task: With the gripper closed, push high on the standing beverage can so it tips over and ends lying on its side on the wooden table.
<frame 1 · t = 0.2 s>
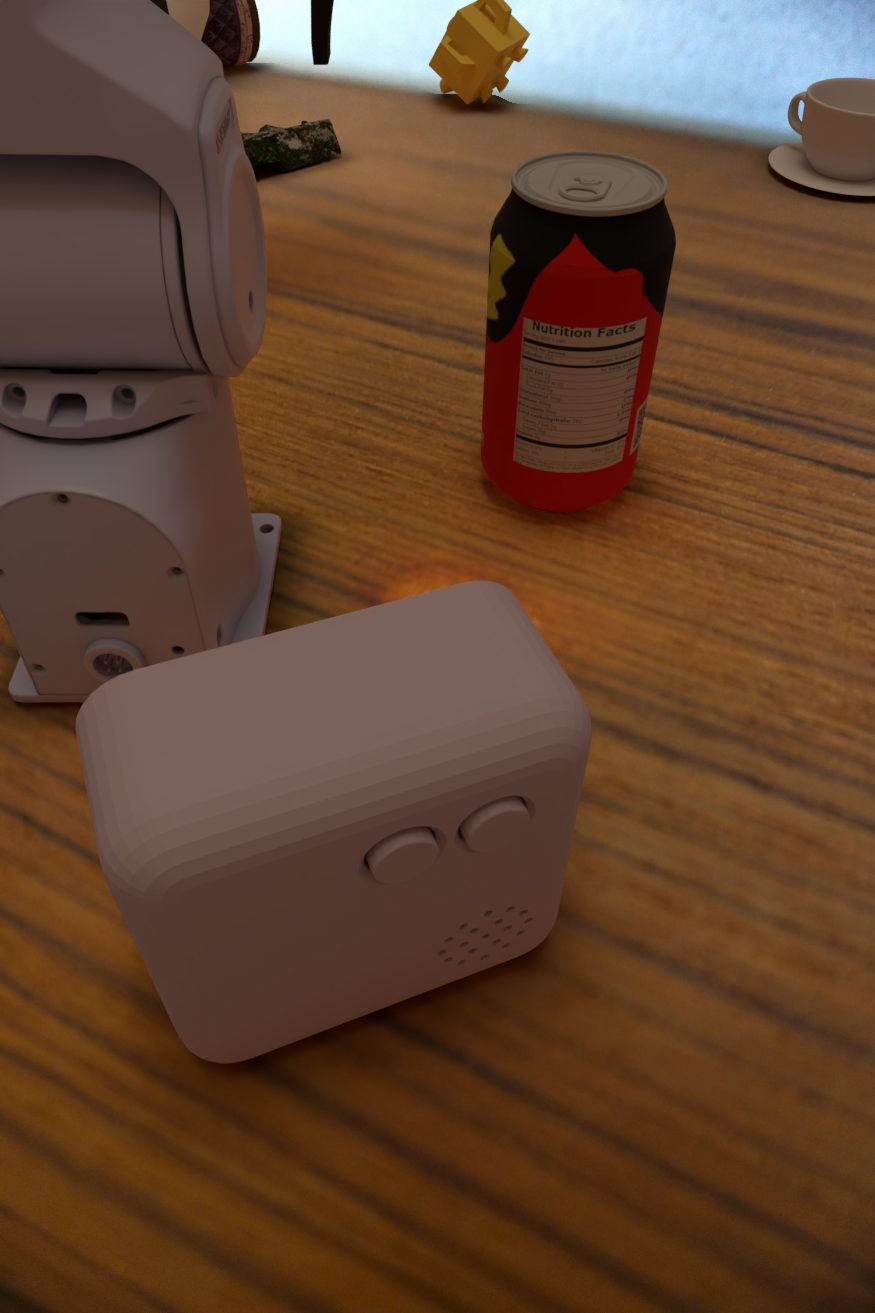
hand: (243, 58, 47), 10 cm above the table, tool pointing down, fingers open, 7 cm apart
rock: (194, 178, 59), point 1 cm above the table
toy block: (504, 82, 72), point 1 cm above the table
teacup: (842, 176, 64), on the table
beverage can: (554, 483, 40), on the table
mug: (96, 37, 74), point 3 cm above the table, touching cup
electronic device: (365, 951, 26), on the table
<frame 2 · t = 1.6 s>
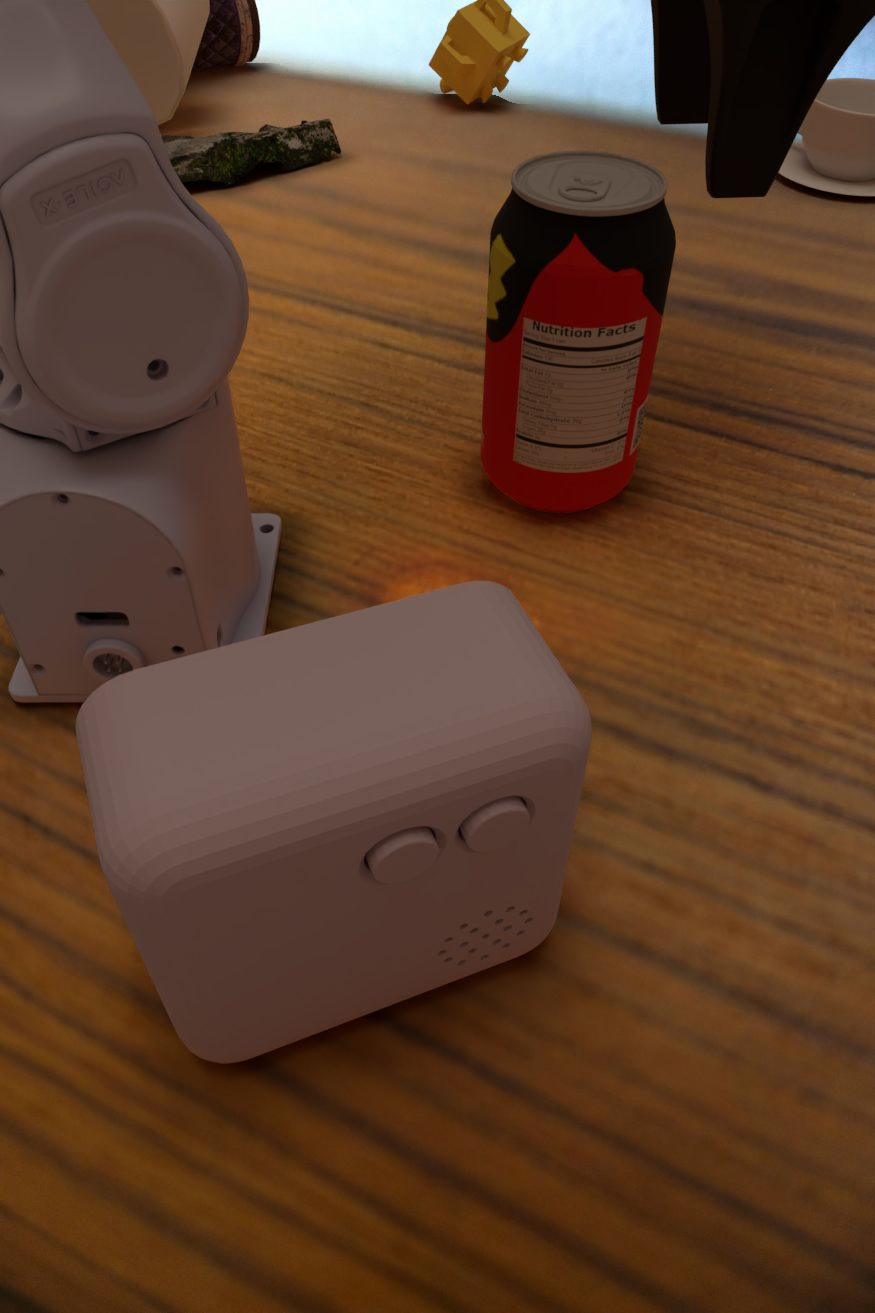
hand: (707, 155, 38), 10 cm above the table, tool pointing down, fingers open, 7 cm apart
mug: (96, 37, 74), point 3 cm above the table
everything else where it was.
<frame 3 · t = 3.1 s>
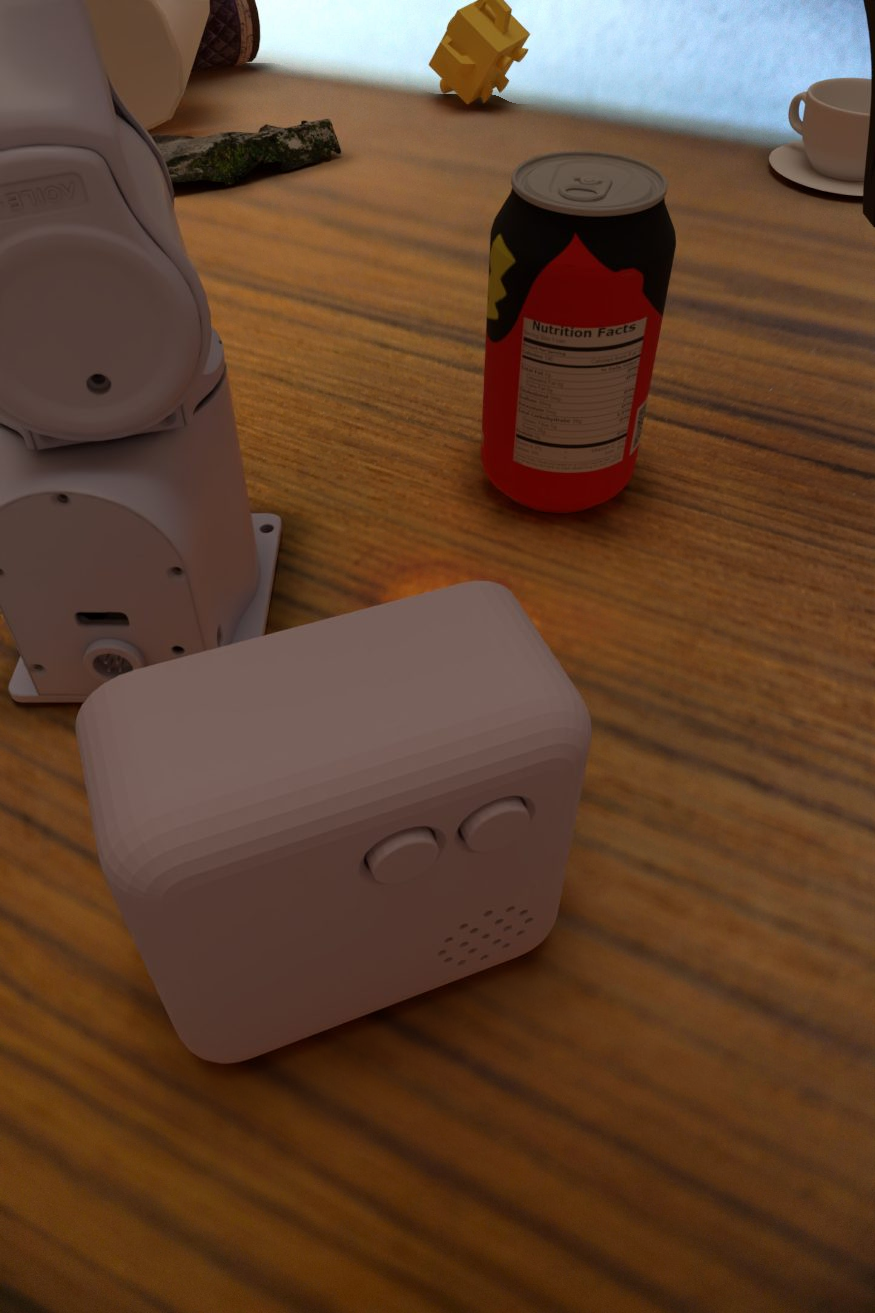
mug: (96, 37, 74), point 3 cm above the table, touching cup
everything else where it was.
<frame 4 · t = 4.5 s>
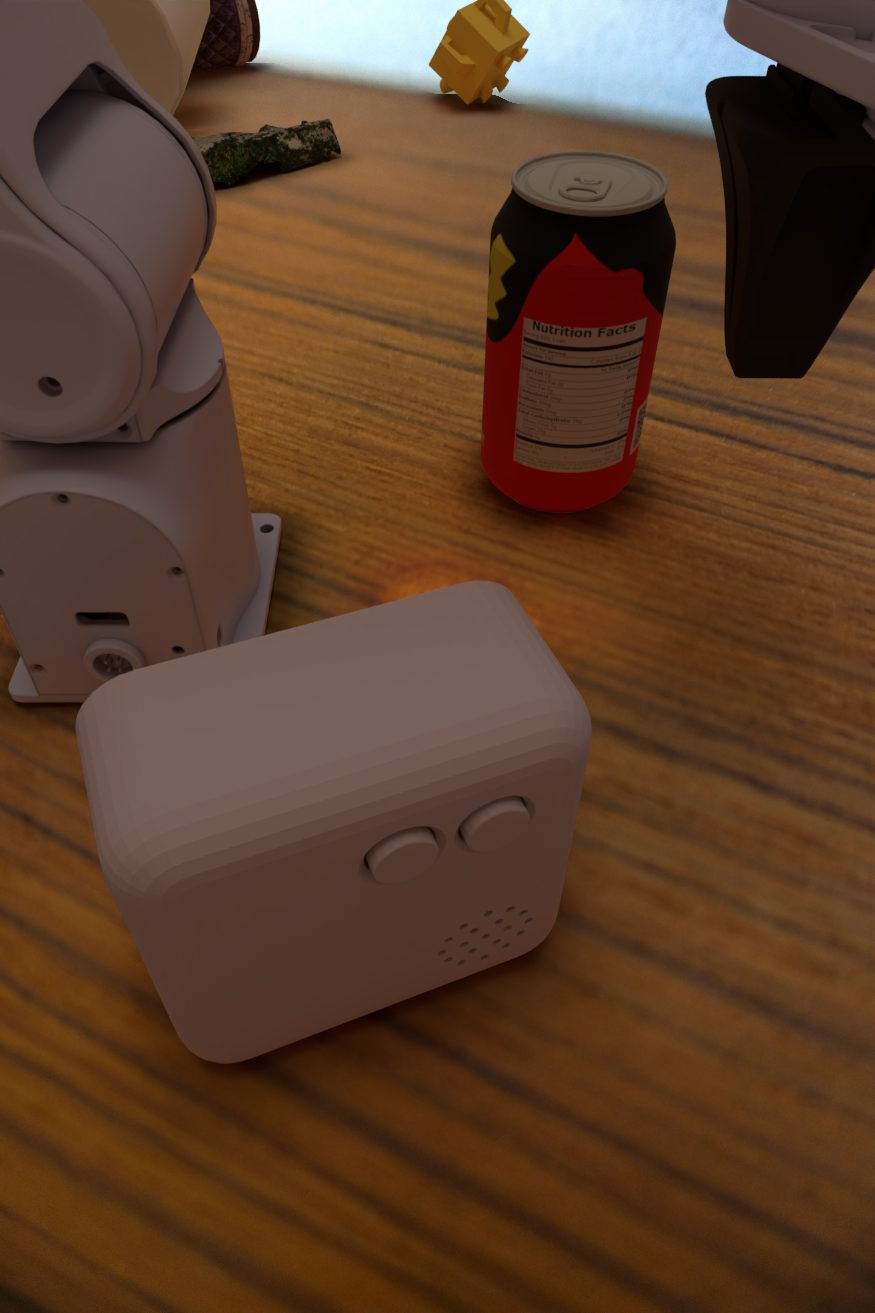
hand: (764, 366, 28), 9 cm above the table, tool pointing down, fingers closed
nothing on the table moved.
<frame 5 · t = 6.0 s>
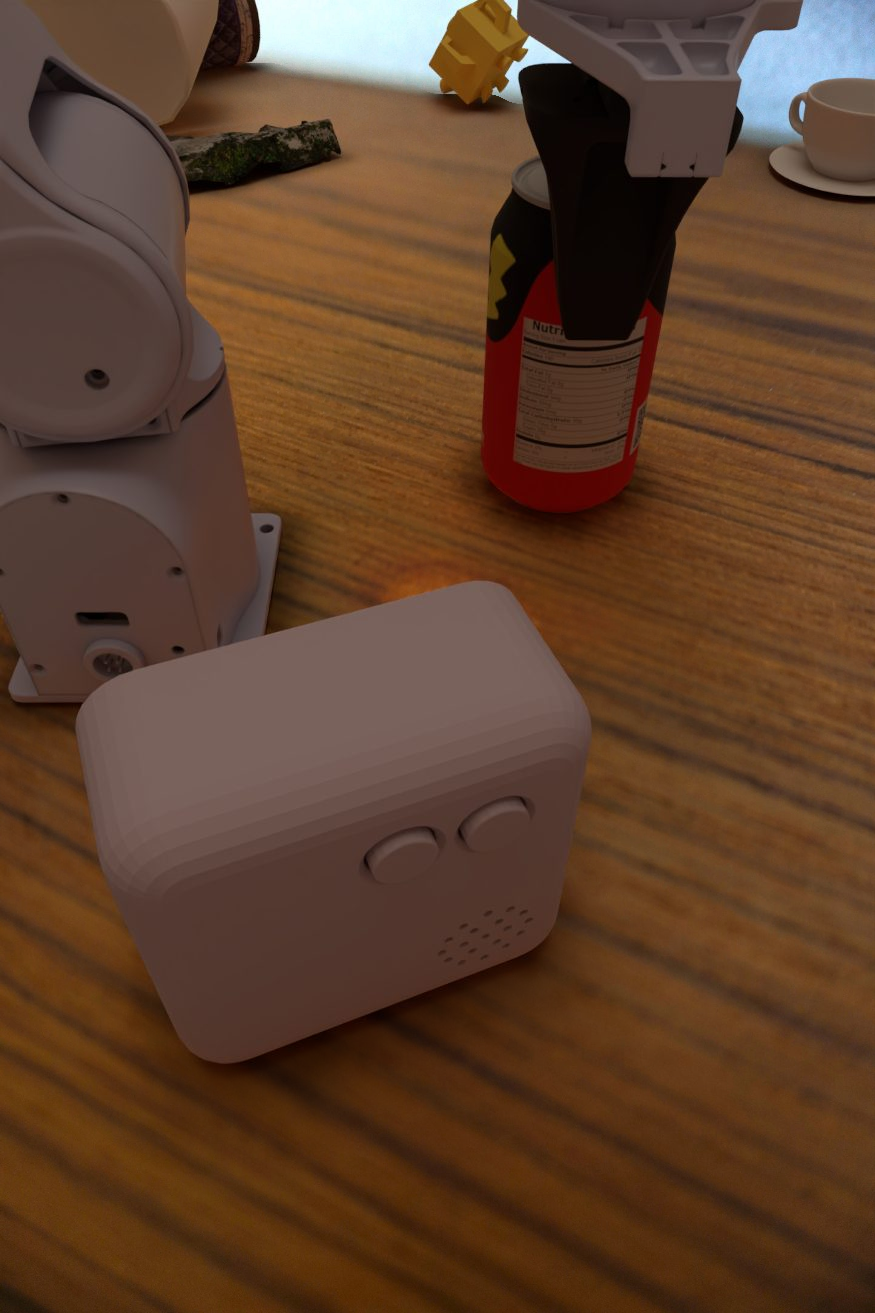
hand: (594, 330, 31), 9 cm above the table, tool pointing down, fingers closed
beverage can: (554, 483, 40), on the table, touching gripper
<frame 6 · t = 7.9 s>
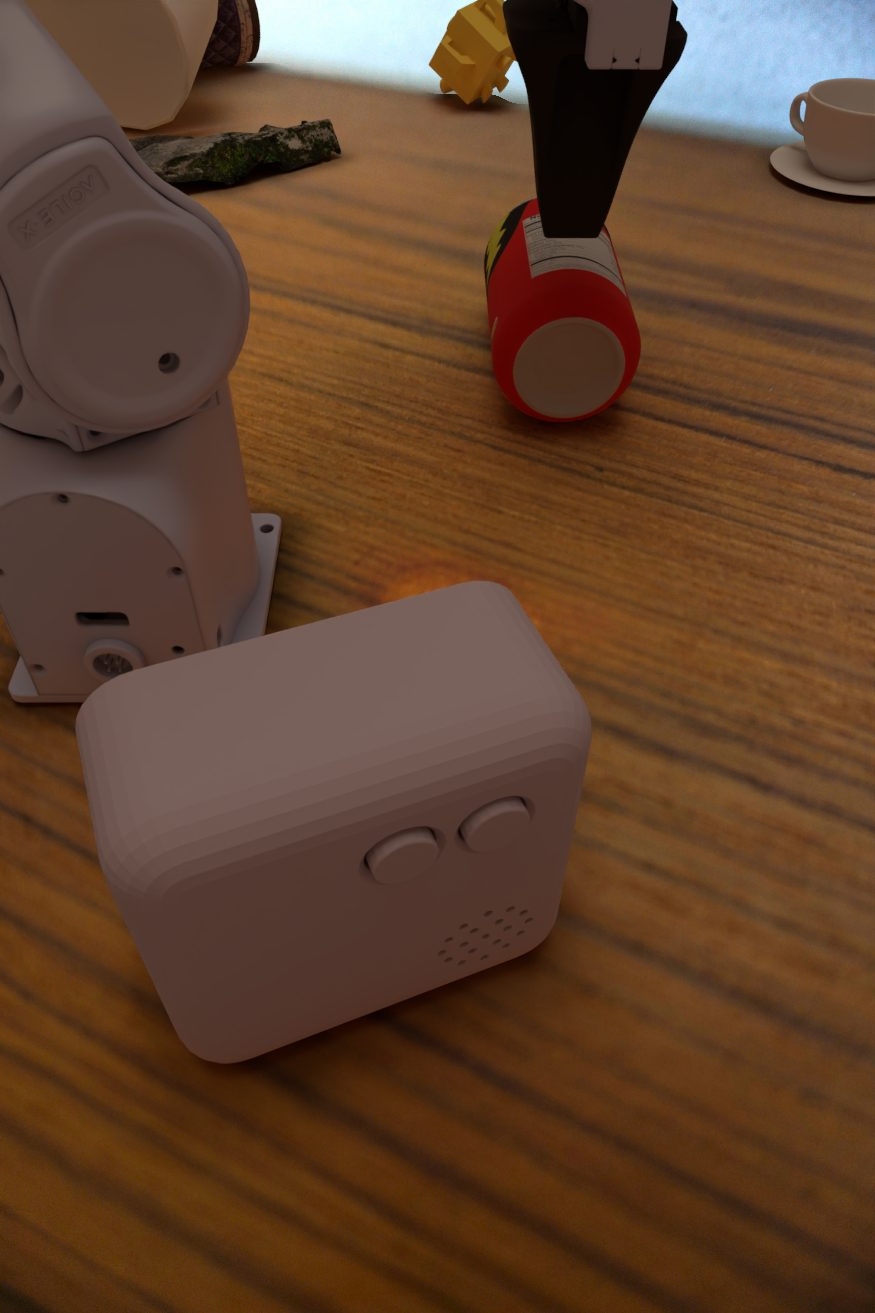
hand: (569, 230, 36), 9 cm above the table, tool pointing down, fingers closed
beverage can: (569, 372, 40), point 3 cm above the table
everything else where it was.
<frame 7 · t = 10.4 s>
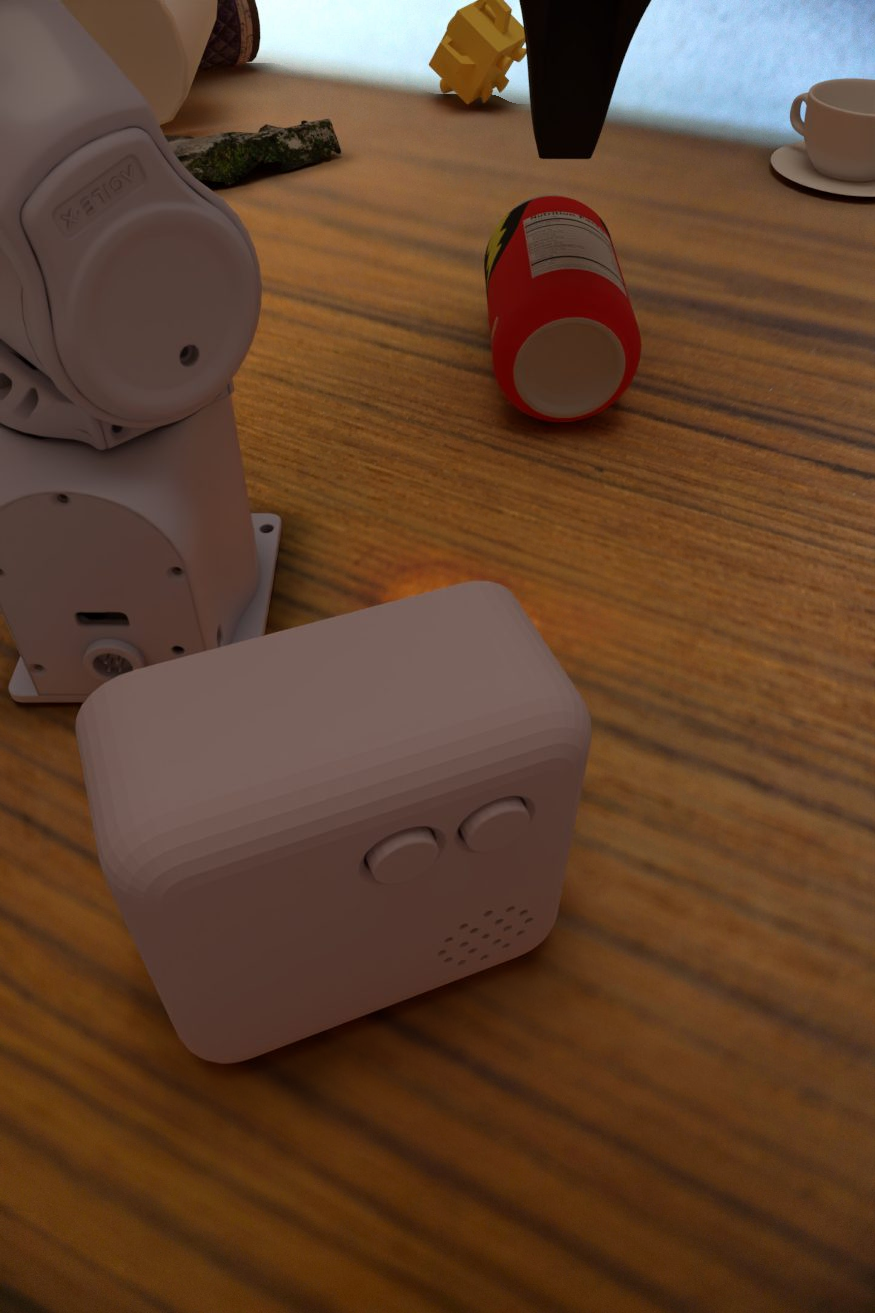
hand: (563, 152, 38), 10 cm above the table, tool pointing down, fingers closed
nothing on the table moved.
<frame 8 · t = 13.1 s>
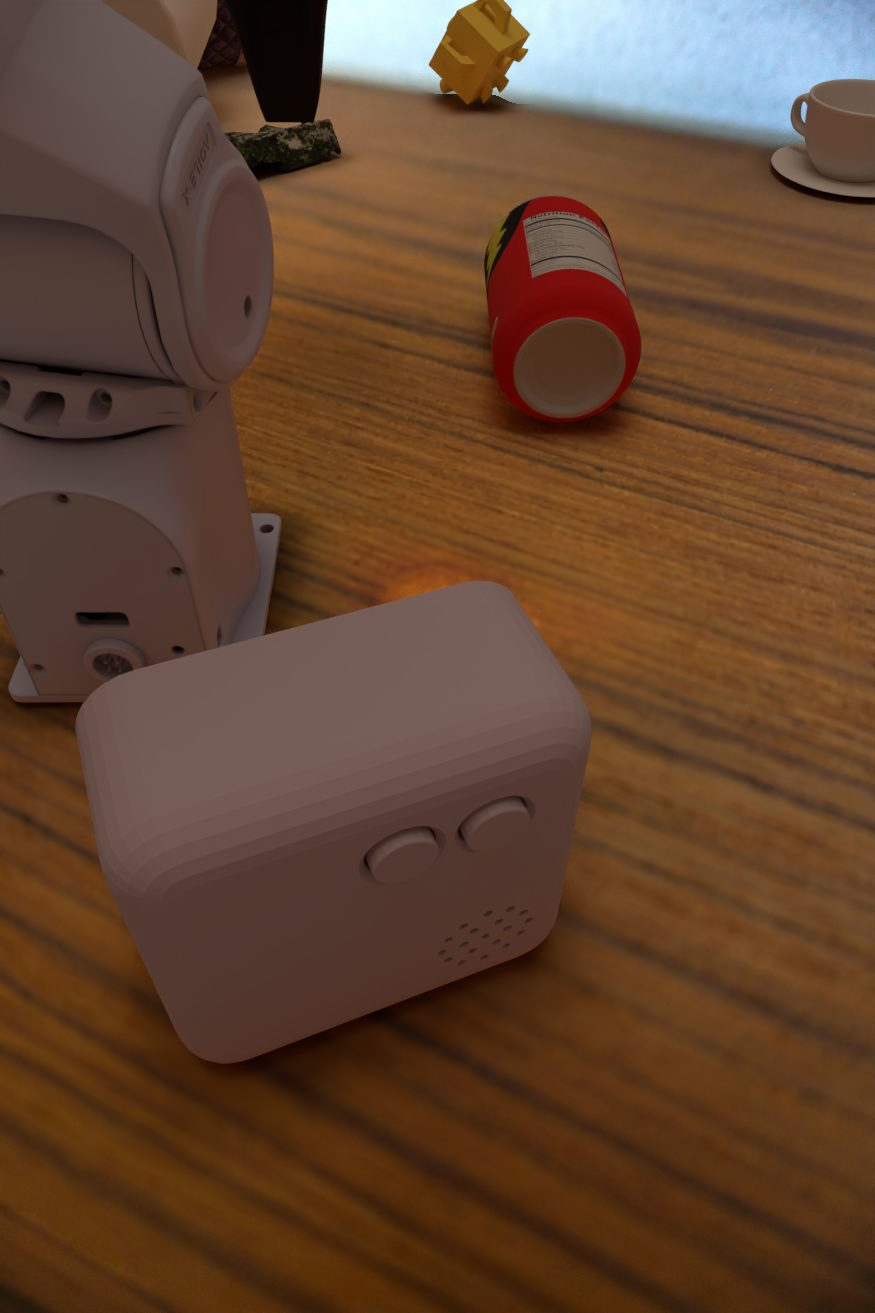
hand: (291, 117, 40), 10 cm above the table, tool pointing down, fingers closed
nothing on the table moved.
at the end: beverage can tilted 90°; beverage can inside the target area (3.5 cm from its centre), point 3.2 cm above the table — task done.
